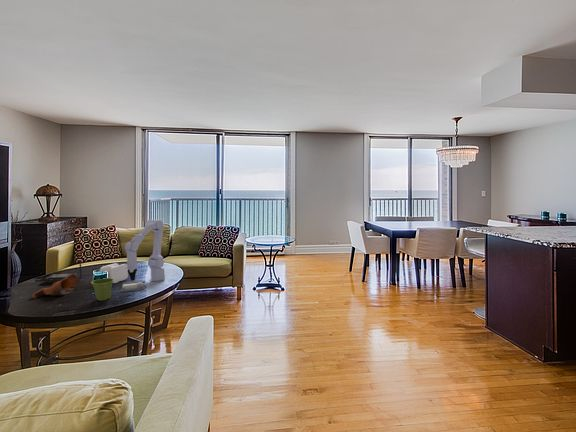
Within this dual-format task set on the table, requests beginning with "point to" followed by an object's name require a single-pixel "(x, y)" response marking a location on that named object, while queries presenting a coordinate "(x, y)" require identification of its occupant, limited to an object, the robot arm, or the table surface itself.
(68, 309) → the table surface
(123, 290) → the board
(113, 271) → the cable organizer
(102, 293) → the plant pot
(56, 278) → the black wireless router
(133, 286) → the tall beige pillar
